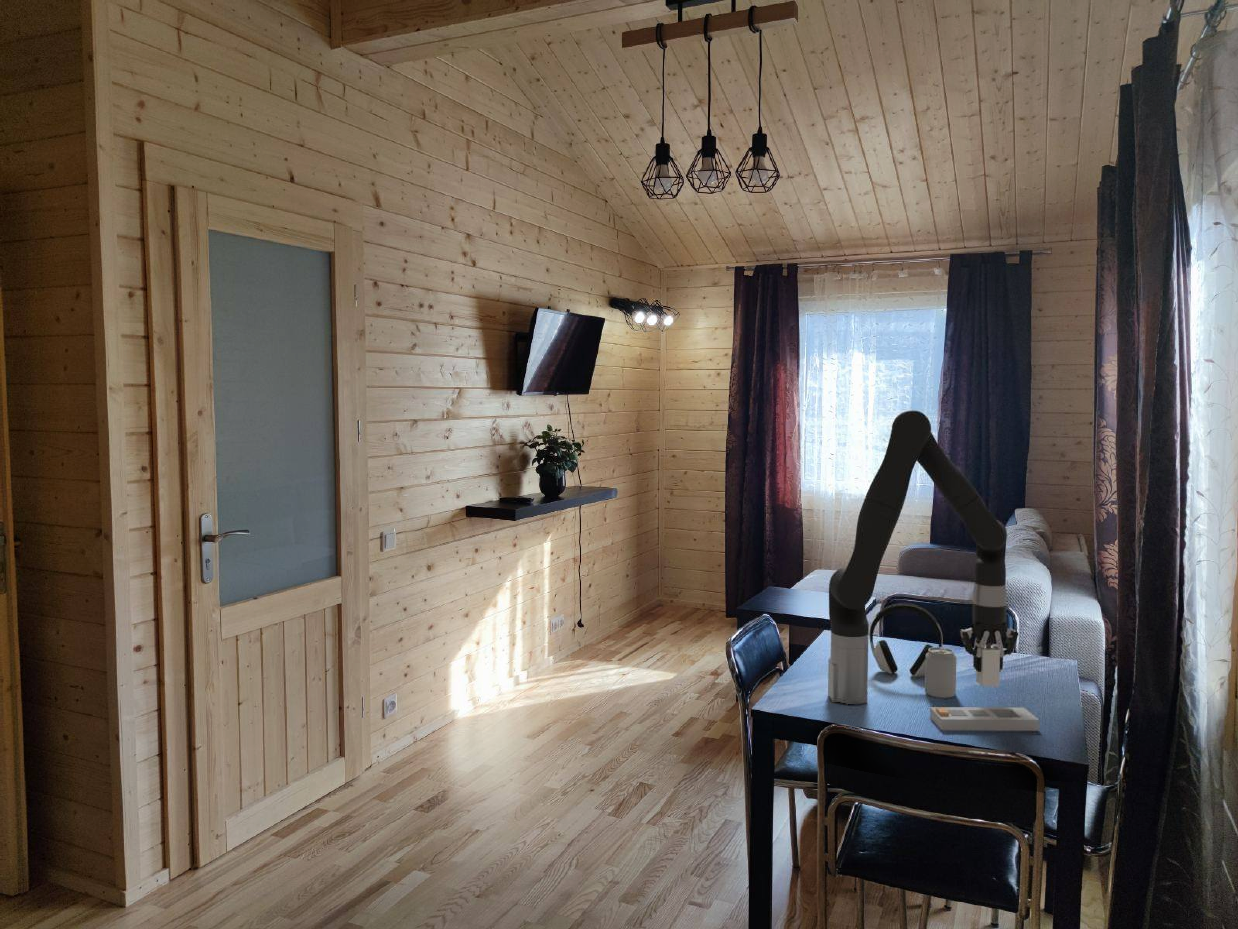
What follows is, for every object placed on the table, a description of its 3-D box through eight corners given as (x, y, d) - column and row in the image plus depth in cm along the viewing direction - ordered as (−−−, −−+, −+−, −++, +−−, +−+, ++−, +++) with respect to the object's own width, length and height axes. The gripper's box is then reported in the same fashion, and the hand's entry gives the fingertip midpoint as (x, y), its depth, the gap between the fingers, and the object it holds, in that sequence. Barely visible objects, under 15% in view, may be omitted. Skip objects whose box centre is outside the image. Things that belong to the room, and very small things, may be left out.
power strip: (941, 732, 205) (941, 716, 205) (929, 719, 213) (930, 704, 213) (1038, 732, 205) (1038, 716, 204) (1023, 720, 213) (1024, 704, 212)
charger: (982, 686, 217) (983, 642, 217) (976, 681, 221) (977, 637, 221) (999, 686, 217) (1000, 641, 216) (992, 681, 221) (993, 637, 220)
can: (919, 695, 230) (920, 649, 229) (932, 689, 235) (934, 644, 234) (947, 702, 225) (948, 655, 224) (960, 695, 230) (961, 649, 229)
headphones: (866, 675, 247) (868, 603, 245) (870, 666, 254) (871, 597, 253) (941, 683, 239) (942, 609, 238) (942, 674, 247) (944, 603, 246)
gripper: (965, 605, 214) (964, 676, 216) (1025, 605, 214) (1024, 675, 215) (954, 598, 222) (953, 666, 223) (1012, 598, 221) (1010, 666, 223)
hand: (988, 670), depth 219 cm, fingers closed on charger, 4 cm apart
